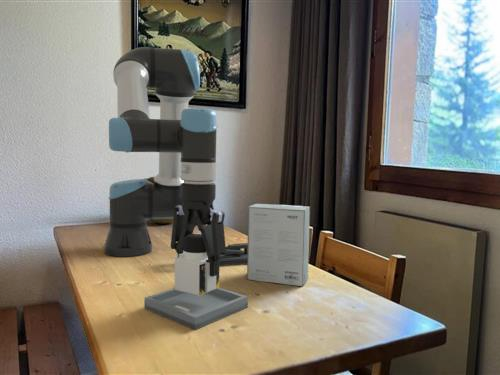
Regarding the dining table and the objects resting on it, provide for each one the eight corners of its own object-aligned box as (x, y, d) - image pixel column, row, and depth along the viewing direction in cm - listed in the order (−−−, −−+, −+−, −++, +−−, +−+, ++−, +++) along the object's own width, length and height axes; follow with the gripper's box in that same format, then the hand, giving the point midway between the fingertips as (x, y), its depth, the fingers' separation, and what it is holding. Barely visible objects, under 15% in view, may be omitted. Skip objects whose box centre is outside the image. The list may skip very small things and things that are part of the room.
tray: (144, 308, 96) (144, 297, 96) (197, 290, 109) (197, 280, 109) (195, 329, 86) (195, 317, 86) (247, 307, 99) (247, 296, 98)
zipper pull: (173, 241, 132) (249, 236, 142) (173, 263, 132) (249, 256, 143) (181, 248, 124) (262, 242, 134) (181, 271, 124) (261, 263, 135)
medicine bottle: (199, 296, 92) (200, 240, 91) (173, 290, 96) (173, 235, 95) (219, 287, 98) (220, 234, 97) (194, 281, 102) (195, 230, 101)
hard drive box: (308, 278, 120) (311, 206, 118) (302, 287, 113) (305, 210, 111) (254, 272, 125) (256, 202, 123) (245, 279, 118) (247, 206, 116)
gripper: (153, 179, 98) (153, 279, 101) (220, 187, 85) (219, 301, 88) (179, 177, 104) (178, 272, 106) (245, 184, 91) (243, 292, 93)
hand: (197, 285), depth 97 cm, fingers closed on medicine bottle, 7 cm apart
